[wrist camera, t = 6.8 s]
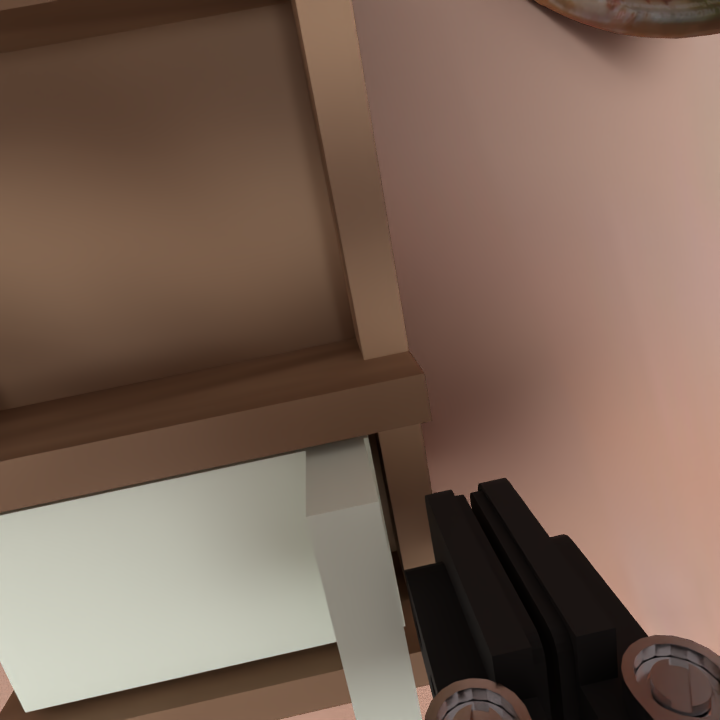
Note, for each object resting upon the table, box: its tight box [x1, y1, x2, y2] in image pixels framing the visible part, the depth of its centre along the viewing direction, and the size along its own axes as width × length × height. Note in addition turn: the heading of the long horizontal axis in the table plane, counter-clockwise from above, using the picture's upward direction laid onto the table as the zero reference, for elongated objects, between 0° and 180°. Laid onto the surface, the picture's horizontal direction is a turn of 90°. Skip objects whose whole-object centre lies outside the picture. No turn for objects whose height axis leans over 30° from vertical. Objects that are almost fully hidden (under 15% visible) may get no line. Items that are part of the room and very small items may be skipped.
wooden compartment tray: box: [0, 0, 435, 720], centre depth 12 cm, size 16×11×5 cm
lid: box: [0, 435, 422, 720], centre depth 11 cm, size 5×9×3 cm, turn 100°
